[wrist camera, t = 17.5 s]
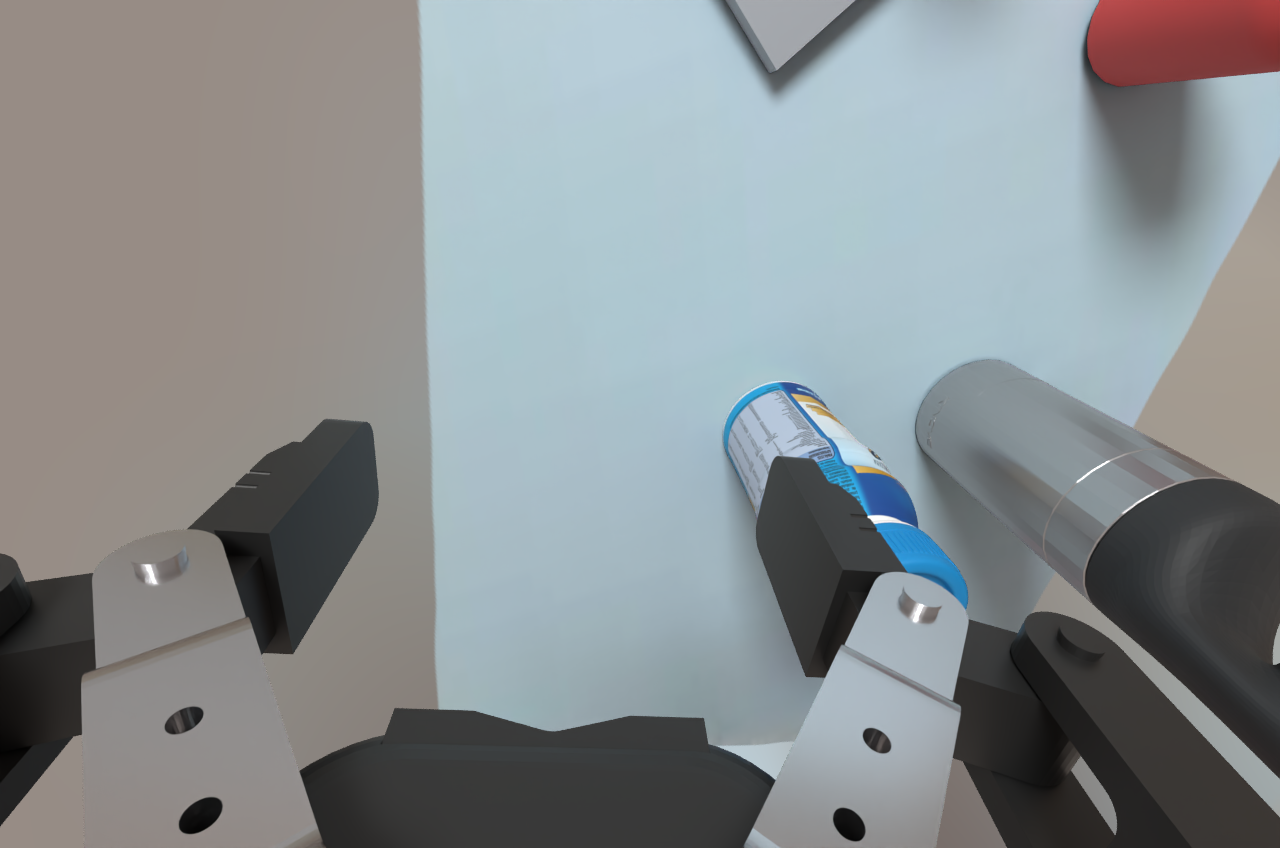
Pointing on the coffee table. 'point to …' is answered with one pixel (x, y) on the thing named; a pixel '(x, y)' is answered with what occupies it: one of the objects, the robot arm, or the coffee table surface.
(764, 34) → the keyhole plate
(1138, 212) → the coffee table surface
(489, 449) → the coffee table surface
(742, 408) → the beverage bottle
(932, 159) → the coffee table surface
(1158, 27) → the beer can
